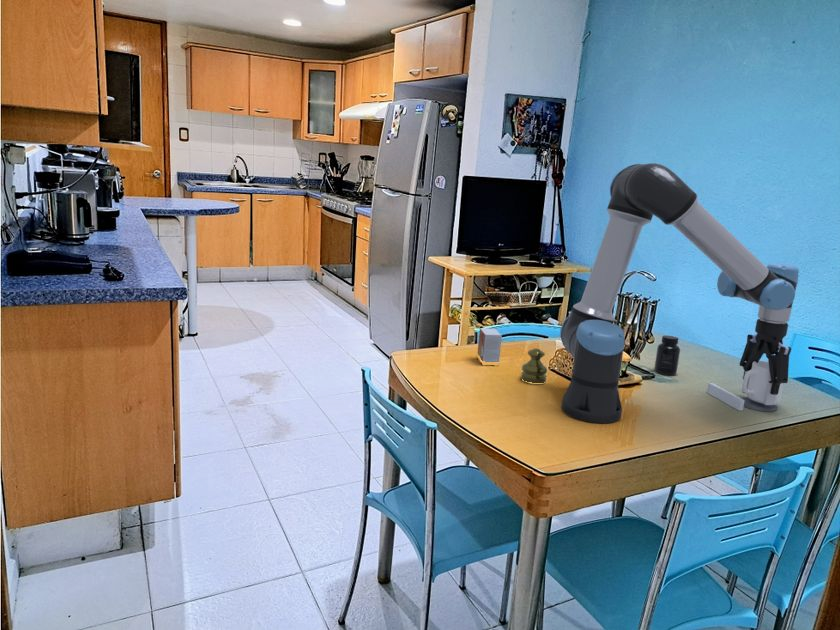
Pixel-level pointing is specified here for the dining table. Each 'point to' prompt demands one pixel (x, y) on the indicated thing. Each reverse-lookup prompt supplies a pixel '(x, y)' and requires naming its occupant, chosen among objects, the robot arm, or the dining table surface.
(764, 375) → the cup
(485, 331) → the small box
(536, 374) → the olive green tiered piece
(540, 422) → the dining table surface
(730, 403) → the acrylic wall
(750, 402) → the coaster
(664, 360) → the supplement bottle
